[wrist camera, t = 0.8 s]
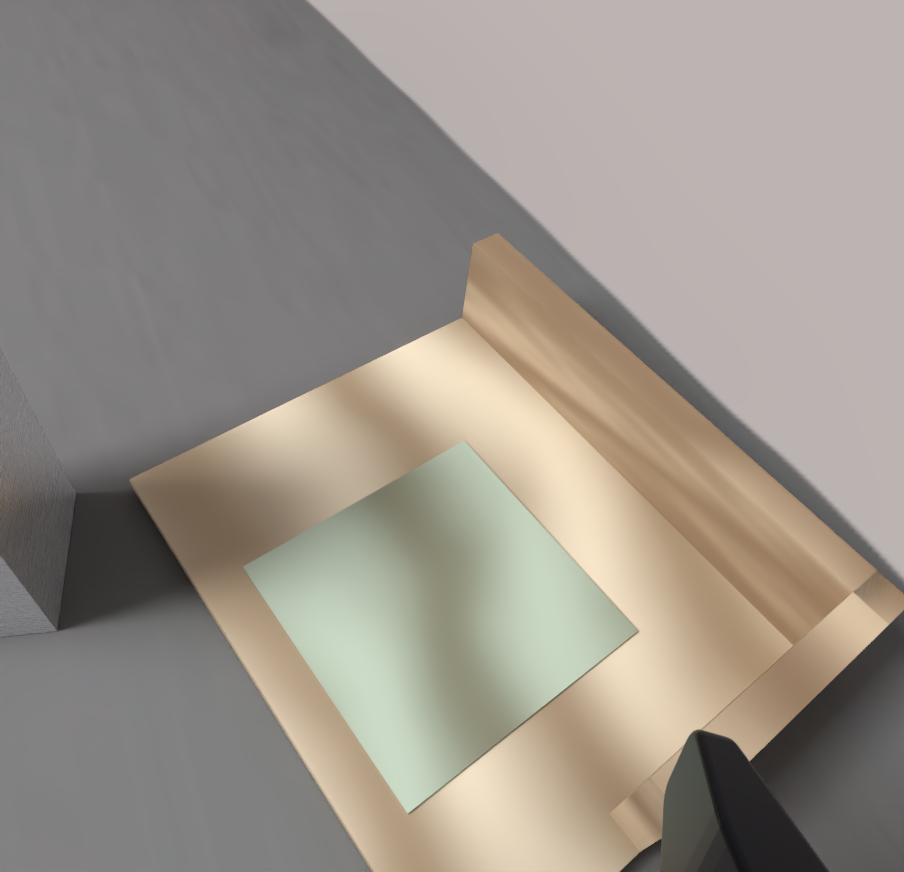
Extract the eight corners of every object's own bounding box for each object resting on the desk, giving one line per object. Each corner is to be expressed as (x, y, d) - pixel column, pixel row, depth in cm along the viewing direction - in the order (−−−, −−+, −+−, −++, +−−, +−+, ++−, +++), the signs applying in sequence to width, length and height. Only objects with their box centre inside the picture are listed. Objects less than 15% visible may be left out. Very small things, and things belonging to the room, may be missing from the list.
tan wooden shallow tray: (463, 1019, 20) (488, 1017, 16) (132, 488, 27) (99, 407, 24) (836, 660, 26) (912, 601, 23) (482, 317, 34) (497, 233, 30)
